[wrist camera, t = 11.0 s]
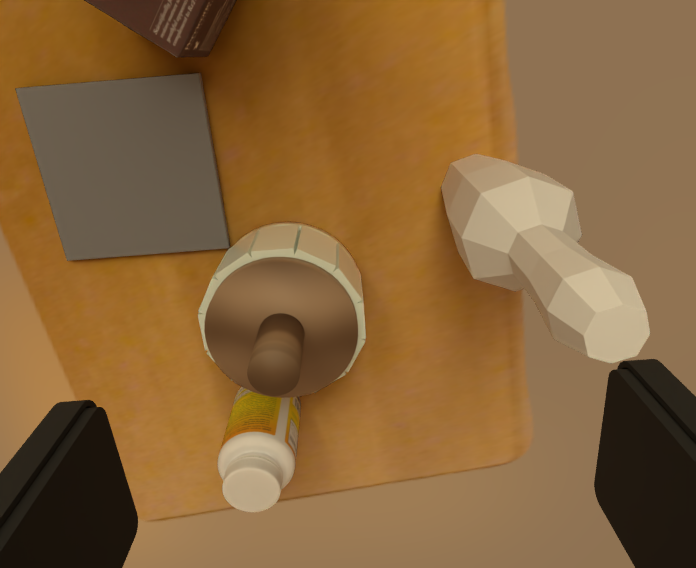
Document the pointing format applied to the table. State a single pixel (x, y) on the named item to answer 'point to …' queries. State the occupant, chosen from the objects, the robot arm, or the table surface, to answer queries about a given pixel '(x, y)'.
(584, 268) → the low poly bottle
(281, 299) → the lid
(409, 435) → the table surface
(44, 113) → the mat
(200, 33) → the box
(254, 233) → the bowl
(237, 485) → the supplement bottle
